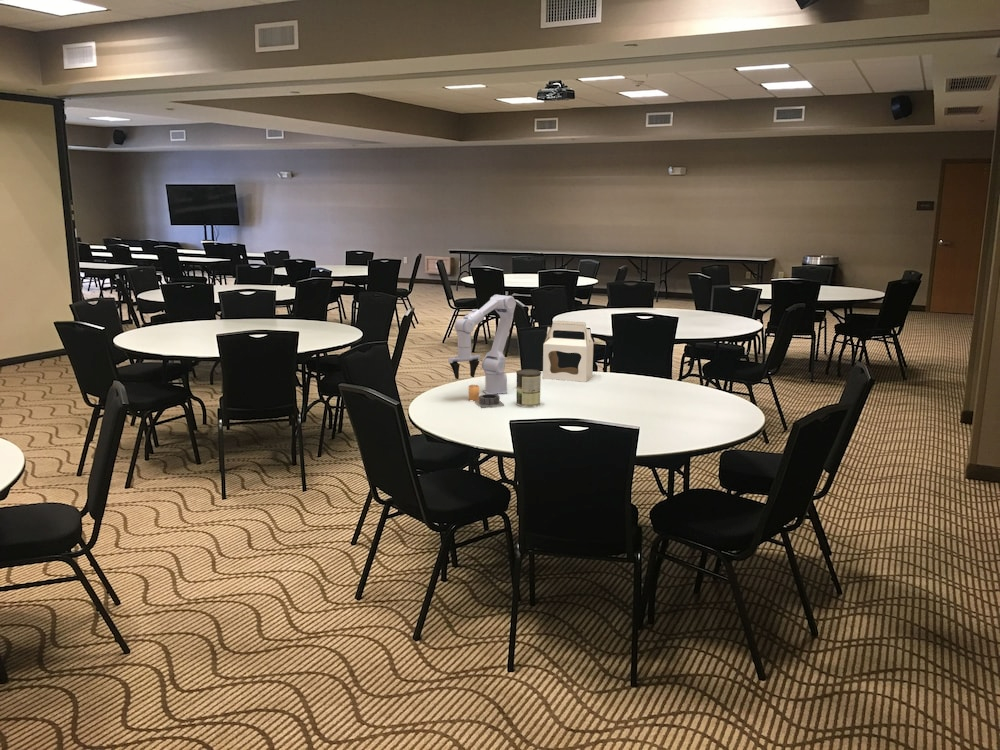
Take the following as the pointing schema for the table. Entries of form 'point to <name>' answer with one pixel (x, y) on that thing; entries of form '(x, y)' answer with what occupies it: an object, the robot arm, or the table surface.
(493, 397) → the dark grey low piece
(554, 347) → the gable box
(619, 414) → the table surface
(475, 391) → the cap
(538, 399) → the coffee can
